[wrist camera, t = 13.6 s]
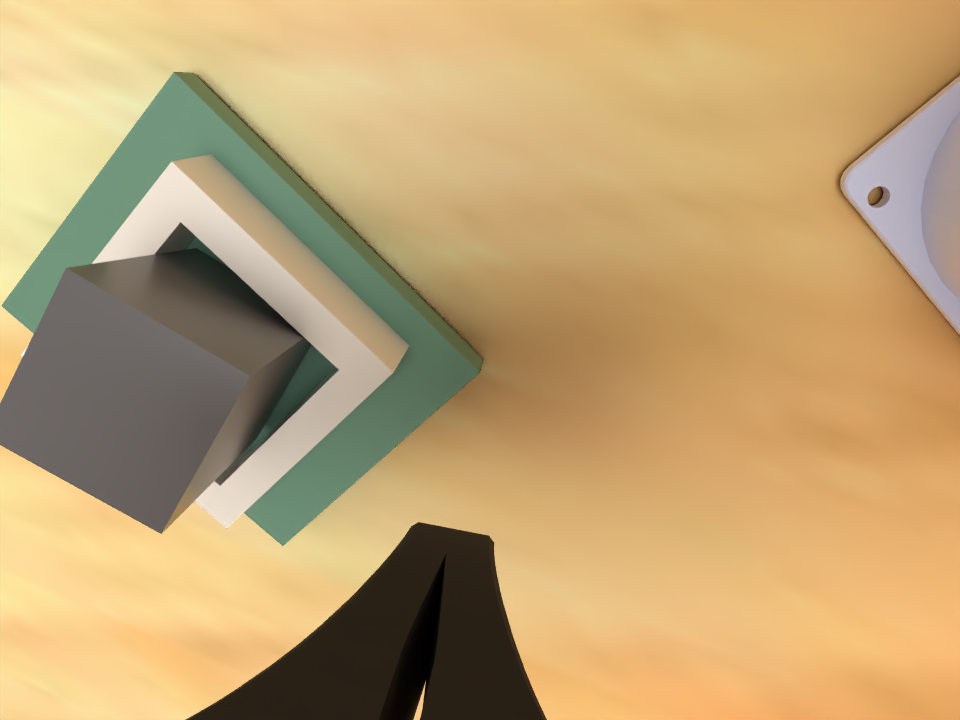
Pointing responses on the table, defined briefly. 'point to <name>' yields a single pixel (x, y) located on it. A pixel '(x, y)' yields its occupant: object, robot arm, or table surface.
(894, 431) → the table surface
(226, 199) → the frame
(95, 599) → the table surface
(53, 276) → the board
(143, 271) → the plug
